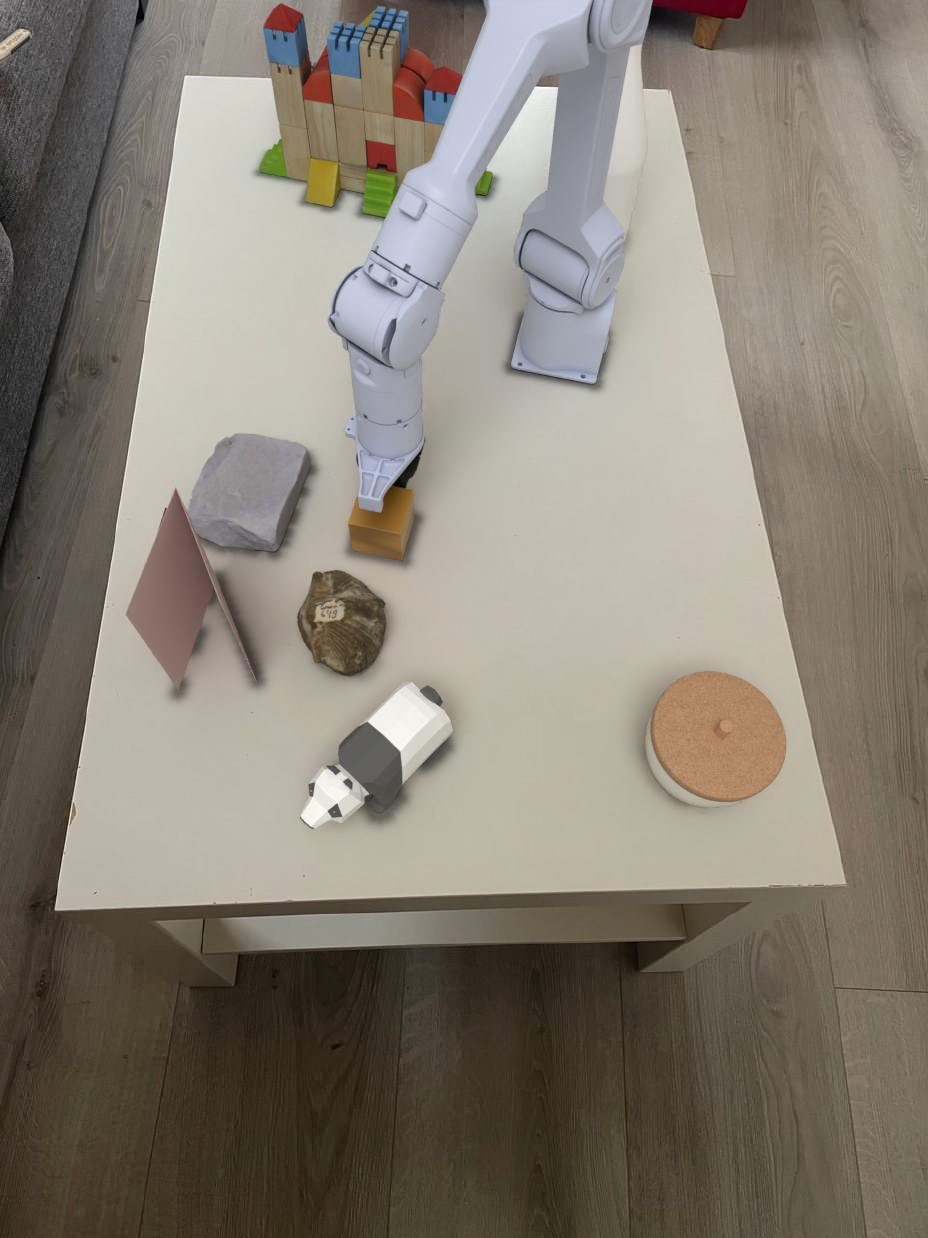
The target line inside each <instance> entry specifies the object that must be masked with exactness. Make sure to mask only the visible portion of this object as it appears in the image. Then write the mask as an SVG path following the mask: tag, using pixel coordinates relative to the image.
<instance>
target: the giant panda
mask: <svg viewBox="0 0 928 1238" xmlns="http://www.w3.org/2000/svg"><path fill="white" fill-rule="evenodd" d="M443 703H444V700H443V699H442V697H441V695H440V693H439V692H438V690H436V689H435V687H432V686H430V685H428V684H427V685H426V686H424V687H421V689H420V688H419V687H417V685H416V684H414V683H413V681H404V682H402V683H401V684H400V685H398V686H397V687H396V688H395V689H394V690H393V692H391V693H390V694H389V696H388V697H387V698H386V699H385V700H383V702H382V703H381V704H380V705H379V706H378V708H376V709H375V710H374V711H373V712H372V713H370V715H369V716H368V717H366V718H365V719H364V720H363V721H362V722H361V723H360V724H358V726H356V727H355V728H354V729H353V730H352V731H351V732H350V733H349V734H348V735H347V736H345V738H343V740H342V741H341V742H340V743H339V745H338V752H337V756H338V764H335V765H332V764H331V765H322V766H321V768H320V769H318V771H317V772H316V774H315V775H314V776H313V777H312V779H311V780H310V781H309V782H308V786H307V787H308V794H309V796H308V799H307V801H306V803H305V805H304V806H303V809H302V812H301V814H300V816H299V819H300V820H301V821H302V823H303V824H304V825H305V826H307V827H308V828H309V829H312V830H314V829H316V828H319V827H320V826H323V825H325V824H327V823H329V822H330V821H333V822H334V821H335V822H338V823H341V824H342V823H343V822H344V821H346V820H347V819H348V818H350V816H352V815H353V814H354V813H355V812H357V811H358V810H359V809H360V808H361V807H362V806H363V805H365V797H366V796H369V795H371V796H372V797H371V798H370V801H369V806H370V807H371V809H372V811H373V812H375V813H377V814H380V815H381V814H383V813H384V812H385V811H386V810H388V808H389V807H390V806H391V805H392V804H393V803H394V801H395V800H396V798H397V797H398V794H399V791H400V789H401V788H402V787H403V785H404V784H405V783H406V781H408V779H409V778H411V776H412V775H413V774H414V773H415V772H416V771H417V770H418V769H419V767H421V765H423V763H425V762H426V763H428V762H430V761H432V759H434V757H436V756H437V755H439V753H440V751H441V750H442V749H443V747H444V746H445V742H446V741H447V739H448V738H450V736H451V735H452V733H453V731H454V730H453V725H452V721H451V719H450V717H449V715H448V714H447V712H446V710H444V709H443V708H442V707H441V706H442V704H443Z"/></svg>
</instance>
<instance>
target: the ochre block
mask: <svg viewBox="0 0 928 1238" xmlns="http://www.w3.org/2000/svg"><path fill="white" fill-rule="evenodd" d="M358 492H359V490H358V491H357V494H356V498H355V500H354V503H353V507H352V510H351V513H350V516H349V518H348V521H347V522H348V523H347V524H348V531H349V537H350V544H351V545H350V546H351V551H354V552H358V553H362V554H367V555H372V556H377V557H382V558H387V559H392V560H396V561H400V562H402V561H403V559H404V557H405V553H406V549H407V546H408V542H409V539H410V534H411V531H412V528H413V525H414V520H415V491H414V489H410V488H407V487H406V488H401V487H396V486H391V487H390V488H389V489H388V491H387V492H386V494H385V495H384V497H383V508H382V512H381V513H379V512H375V511H369V510H365V509H360V508H359V503H358Z"/></svg>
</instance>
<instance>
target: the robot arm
mask: <svg viewBox="0 0 928 1238" xmlns="http://www.w3.org/2000/svg"><path fill="white" fill-rule="evenodd" d="M483 5H484V9H485V13H486V16H485V19H484V21H483V23H482V26H481V29H480V31H479V34H478V36H477V39H476V41H475V44H474V47H473V49H472V52H471V55H470V57H469V60H468V63H467V66H466V68H465V70H464V73H463V75H462V77H463V78H462V81H461V83H460V86H459V88H458V91H457V94H456V96H455V99H454V101H453V104H452V107H451V109H450V112H449V114H448V117H447V119H446V122H445V125H444V127H443V130H442V132H441V135H440V138H439V140H438V143H437V145H436V148H435V151H434V153H433V156H432V158H431V160H430V161H429V162H427V163H425V164H423V165H421V166H419V167H417V168H414V169H412V170H410V171H408V172H407V174H406V176H405V178H404V180H403V182H402V184H401V186H400V188H399V190H398V193H397V195H396V197H395V199H394V201H393V203H392V205H391V207H390V210H389V212H388V214H387V216H386V217H384V218H385V219H384V220H383V223H382V225H381V227H380V229H379V230H378V233H377V235H376V238H375V240H374V242H373V244H372V245H371V249H370V250H369V252H368V254H367V257H366V259H365V261H364V263H363V265H357V266H355V267H353V268H352V269H350V270H349V271H348V272H347V273H346V274H345V275H344V276H343V277H342V278H341V279H340V281H339V283H338V284H337V286H336V288H335V290H334V293H333V296H332V299H331V304H330V313H329V314H328V315H327V316H326V320H327V325H328V327H329V329H330V330H331V332H333V333H334V334H336V335H337V336H339V337H340V338H341V343H342V349H343V350H345V351H347V353H348V358H349V366H350V377H351V385H352V395H353V404H354V412H355V415H350V416H349V417H348V418H347V420H346V424H345V427H344V435H345V437H346V438H349V439H352V440H354V441H355V444H356V455H355V458H356V465H357V467H358V472H359V488H358V491H359V492H358V491H357V494H358V503H359V508H360V509H365V510H369V511H375V512H379V513H381V512H382V508H383V497H384V495H385V494H386V492H387V491H388V489H389V488H390V487H391V486H396V487H401V488H406V489H407V486H408V483H409V480H411V479H412V478H413V477H414V476H415V474H416V472H417V471H418V468H419V464H420V460H421V456H422V454H423V451H424V447H425V443H426V435H425V424H424V417H423V355H424V353H425V352H426V351H427V350H428V348H429V346H430V344H431V343H432V341H433V340H434V338H435V336H436V333H437V331H438V327H439V324H440V318H441V310H442V307H443V304H444V302H445V297H446V293H445V292H444V291H442V288H443V286H444V284H445V282H446V280H447V278H448V276H449V274H450V273H451V271H452V268H453V267H454V264H455V263H456V260H457V259H458V257H459V255H460V253H461V251H462V249H463V246H464V245H465V242H466V241H467V239H468V237H469V235H470V233H471V231H472V229H473V227H474V225H475V224H476V221H477V219H478V216H479V209H478V204H477V203H478V202H477V197H476V193H475V186H476V185H477V183H478V181H479V180H480V178H481V176H482V175H483V173H484V171H485V170H486V171H487V168H488V166H489V165H490V163H491V161H492V160H493V158H494V157H495V155H496V153H497V151H498V150H499V148H500V146H501V144H503V141H504V140H505V138H506V136H507V134H508V133H509V131H510V130H511V128H512V126H513V124H515V122H516V120H517V118H518V117H519V115H520V113H521V112H522V110H523V108H524V107H525V105H526V103H527V101H528V99H529V98H530V96H531V95H532V93H533V91H534V89H535V88H536V86H537V84H538V83H539V81H540V80H541V78H545V77H549V76H555V75H558V84H557V85H558V86H557V95H556V104H555V112H554V122H553V132H552V142H551V150H550V160H549V169H548V178H547V188H546V190H545V191H542V193H540V194H539V195H538V196H537V197H535V198H534V199H533V201H531V202H530V204H529V205H528V206H527V208H526V209H525V210H524V212H523V213H522V220H521V224H520V228H519V231H518V233H517V236H516V239H515V240H514V241H515V242H514V246H513V260H514V264H515V266H516V267H517V268H518V269H520V270H522V271H523V273H522V281H523V282H524V283H525V284H526V285H527V290H526V298H525V303H524V304H525V305H524V311H523V315H522V318H521V322H520V325H519V331H518V334H517V338H516V341H515V346H514V350H513V354H512V357H511V361H510V367H511V368H512V369H514V370H519V371H524V372H528V373H534V374H539V375H545V376H549V377H554V378H555V377H556V378H560V379H565V380H570V381H574V382H575V381H576V382H581V383H584V384H590V385H593V384H596V383H597V380H598V379H597V378H598V375H599V370H600V366H601V363H602V360H603V359H602V358H603V355H604V354H606V353H607V348H608V346H609V345H608V344H609V340H610V336H609V332H610V327H611V323H612V320H613V315H614V310H615V304H616V299H617V295H618V290H617V289H615V288H616V286H617V284H618V282H619V281H620V278H621V276H622V273H623V270H624V267H625V251H624V243H625V241H624V235H625V232H624V230H623V228H622V226H621V225H620V223H619V222H618V221H617V219H616V218H615V216H614V215H613V214H612V212H611V211H610V209H609V208H608V207H607V205H606V204H605V202H604V200H603V197H604V191H605V186H606V180H607V174H608V169H609V163H610V158H611V152H612V147H613V141H614V135H615V130H616V124H617V119H618V113H619V108H620V102H621V96H622V91H623V85H624V80H625V74H626V68H627V63H628V57H629V52H630V47H632V46H636V45H640V44H642V43H644V41H645V36H646V33H647V30H648V26H649V21H650V16H651V11H652V5H653V0H483ZM642 45H643V44H642ZM623 242H624V243H623Z"/></svg>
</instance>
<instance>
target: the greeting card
mask: <svg viewBox="0 0 928 1238" xmlns="http://www.w3.org/2000/svg"><path fill="white" fill-rule="evenodd" d="M187 511H188V510H187V508H186V506H185V504H184V501H183V499H182V497H181V495H180V493H179V490H178V488H177V487H176V486H175V487H174V489H173V493H172V495H171V497H170V500H169V502H168V504H167V506H166V507H164V510H163V513H162V516H161V520H160V523H159V525H158V529H157V531H156V535H155V538H154V541H153V543H152V545H151V547H150V550H149V552H148V555H147V558H146V561H145V563H144V566H143V568H142V570H141V573H140V576H139V578H138V580H137V583H136V585H135V587H134V591H133V593H132V596H131V598H130V600H129V602H128V605H127V609H126V611H125V613H124V615H125V616H126V618H127V619H128V620H129V622H130V623H131V625H132V626H133V627H134V629H135V630H136V631H137V634H138V635H139V636H140V637H141V639H142V640H143V642H144V643H145V645H146V646H147V648H148V649H149V650H150V652H151V654H152V655H153V656H154V657H155V659H156V661H157V662H158V664H159V665H160V666H161V668H162V669H163V670H164V672H165V674H166V675H167V677H168V678H169V679H170V681H171V682H172V683H173V685H174V686H175V688H176V689H177V690H178V691H179V689H180V687H181V685H182V681H183V678H184V677H185V676H184V675H185V674H186V673H185V672H186V669H187V667H188V664H189V661H190V659H191V656H192V652H193V650H194V646H195V643H196V641H197V638H198V635H199V632H200V630H201V627H202V624H203V621H204V618H205V615H206V612H207V610H208V606H209V603H210V601H211V598H212V595H213V592H214V591H215V594H216V596H217V599H218V601H219V604H220V607H221V608H222V610H223V612H224V615H225V617H226V619H227V621H228V623H229V625H230V628H231V631H232V632H233V635H234V636H235V638H236V641H237V643H238V645H239V647H240V649H241V652H242V654H243V656H244V658H245V661H247V664H248V667H249V669H250V671H251V673H252V675H253V677H254V679H255V682H256V683H257V682H258V681H257V678H256V676H255V673H254V671H253V668H252V665H251V662H250V660H249V657H248V654H247V652H246V650H245V648H244V647H245V646H244V645H243V643H242V640H241V637H240V634H239V632H238V629H237V626H236V624H235V621H234V619H233V616H232V614H231V611H230V609H229V606H228V604H227V601H226V599H225V595H224V594H223V591H222V589H221V585H220V583H219V581H218V578H217V576H216V573H215V572H214V569H213V567H212V565H211V562H210V560H209V558H208V555H207V554H206V550H205V549H204V546H203V544H202V543H201V540H200V538H199V535H198V533H197V532H196V531H195V529H194V526H193V524H192V522H191V520H190V517H189V515H188V513H187Z"/></svg>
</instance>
